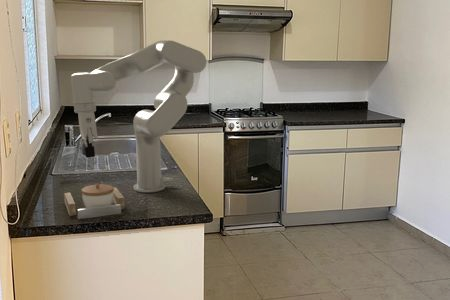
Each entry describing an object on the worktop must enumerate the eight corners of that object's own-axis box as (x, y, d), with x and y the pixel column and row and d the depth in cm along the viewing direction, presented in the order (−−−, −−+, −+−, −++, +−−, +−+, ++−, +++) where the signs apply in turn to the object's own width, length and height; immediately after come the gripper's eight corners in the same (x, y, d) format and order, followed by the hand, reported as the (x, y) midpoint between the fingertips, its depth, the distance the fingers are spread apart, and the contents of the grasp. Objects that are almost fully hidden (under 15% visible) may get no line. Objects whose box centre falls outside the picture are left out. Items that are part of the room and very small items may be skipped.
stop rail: (120, 212, 167) (119, 203, 166) (121, 213, 166) (120, 205, 165) (77, 217, 162) (77, 209, 161) (78, 219, 160) (78, 210, 160)
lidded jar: (78, 208, 171) (77, 182, 169) (107, 203, 177) (106, 178, 175) (88, 217, 162) (87, 189, 160) (119, 211, 168) (118, 185, 166)
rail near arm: (116, 197, 183) (115, 187, 183) (124, 208, 171) (124, 197, 170) (110, 198, 183) (110, 188, 182) (118, 209, 170) (118, 198, 169)
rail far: (70, 203, 177) (70, 192, 176) (75, 214, 164) (75, 203, 164) (64, 203, 176) (64, 193, 175) (69, 215, 164) (68, 204, 163)
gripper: (99, 109, 171) (104, 159, 175) (92, 104, 184) (96, 151, 188) (77, 111, 168) (83, 162, 172) (71, 106, 181) (76, 154, 185)
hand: (90, 156), depth 180 cm, fingers closed
